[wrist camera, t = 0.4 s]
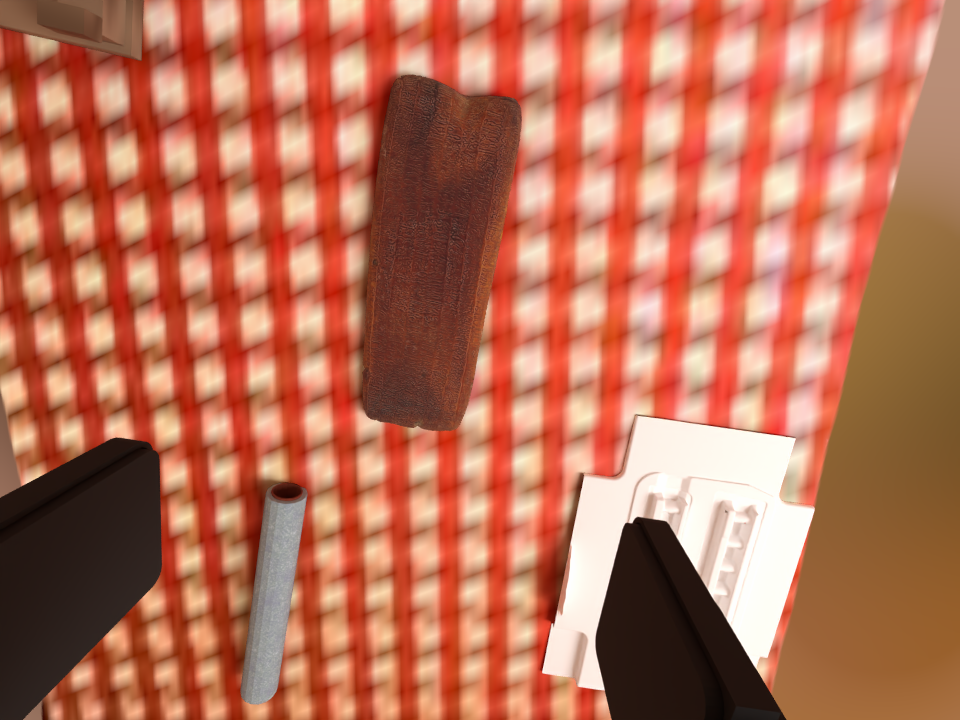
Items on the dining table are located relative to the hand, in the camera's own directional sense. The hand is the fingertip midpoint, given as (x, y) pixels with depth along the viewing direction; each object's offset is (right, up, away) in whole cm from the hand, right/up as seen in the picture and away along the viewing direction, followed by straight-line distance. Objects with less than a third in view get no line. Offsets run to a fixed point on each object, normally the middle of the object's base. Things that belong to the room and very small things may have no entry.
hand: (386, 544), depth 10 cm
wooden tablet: (+3, +10, +29) cm, 31 cm away
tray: (+20, -15, +36) cm, 44 cm away
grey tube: (-19, -18, +38) cm, 46 cm away
